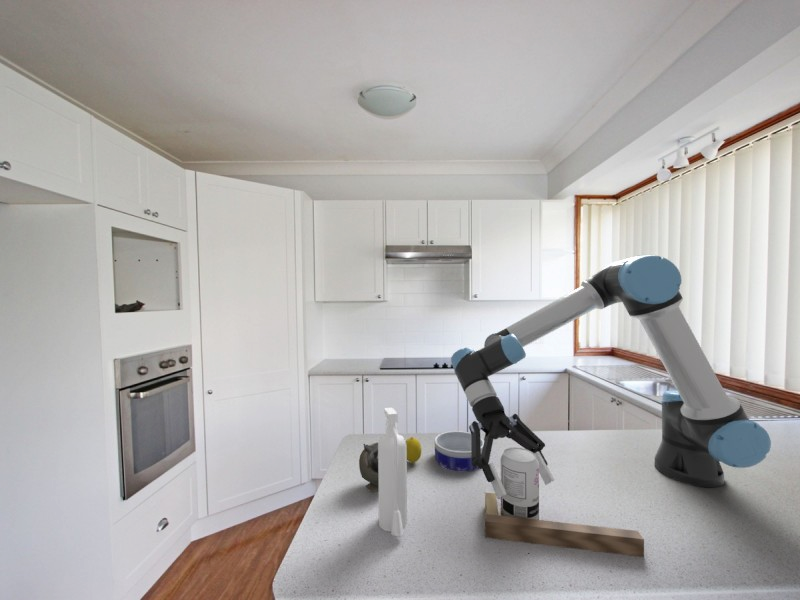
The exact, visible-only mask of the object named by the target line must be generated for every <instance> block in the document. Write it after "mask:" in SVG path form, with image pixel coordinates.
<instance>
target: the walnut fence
mask: <svg viewBox="0 0 800 600" xmlns="http://www.w3.org/2000/svg"><path fill="white" fill-rule="evenodd" d="M484 496H485V497H484V505H485V506H484V508H485V513H484V538H486V539H495V540H502V541H504V540H505V541H509V542H510V541H511V542H519V543H527V544H536V545H543V546H550V547H551V546H552V547H559V548H565V549H566V548H567V549H569V548H570V549H574V550H584V551H593V552H599V553H608V554H614V555H615V554H617V555H623V556H631V557H632V556H634V557H639V558H640V557H641V558H645V539H644V537H643V536H642V535H641V533H640V532H639V531H638V530H632V529H625V528H615V527H606V526H597V525H588V524H580V523H579V524H578V523H569V522H561V521H551V520H544V519H543V520H541V519H539V520H535V519H526V518H517V517H508V516H501V515H500V514H499V507H498V500H497V496H496V493H495V492H486V491H485V492H484Z"/></svg>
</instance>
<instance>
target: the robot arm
mask: <svg viewBox="0 0 800 600" xmlns="http://www.w3.org/2000/svg"><path fill="white" fill-rule="evenodd" d="M681 285H682V275H681V272H680V270H679V269H678V267H677V266H676V264H675V263H674V262H672V261H671V260H669V259H668V258H665V257H664V256H659V255H654V254H649V255H648V254H642V255H637V256H633V257H630V258H629V257H628V258H625V259H621V260H617V261H615V262H612V263H610V264H609V265H607V266H606V267H604V268H602V269H601V270H599V271H598V272H596V273H594V274H592V275H591V276H590V277H588V278H587V279H584V280H583V281H582V282H581V284H580V286H579V287H578V288H576V289H574V290H572V291H570V292H569V293H567V294H565V295H563V296H562V297H559V298H558V299H556V300H554V301H552V302H550V303H548V304H547V305H545V306H543V307H541V308H540V309H538V310H536V311H534V312H533V313H530V314H528V315H527V316H525V317H523V318H521V319H520V320H518V321H516V322H514V323H512V324H511V325H509V326H507V327H506V328H504V329H502V330H500V331H498V332H496V333H495V332H494V333H491V334H489V335H488V336H487V337H486V338H485V341H484V345H483V346H484V347H482V348H480V349H478V350H474V348H472V347H464V348H460V349H458V350H457V351H455V352H454V353H452V355H451V359H450V362H451V365H452V369H453V370H454V373H455V376H456V377H457V379H458V382H459V384H460V386H461V388H462V390H463V392H464V395H465V396H466V397H465V398H466V399H467V401H468V404H469V406H470V407H472V408H471V411H472V412H473V415H474V417H475V420H474V421H473V422H472V423H470V425H469V426H468V428H469V430H470V431H469V433H471V464H472V466H474V467H475V466H478V468H479V469H480V470H482V472H483V475H484V477H485V479H486V481H487V482H488V483H490V484H491V486H492V488H493V492H494V493H496V499H498V500H501V498H502V497H503V496H505V495H506V492H505V489H504V487H503V485H502V483H501V477H500V476H499V473H498V472H497V469H496V468H495V465H494V462H490V457H491V453H492V447H493V443H494V440H497V439H503V438H507V439H511V440H512V441H514V442H515V443H516V444H518V445H519V446H521V448H523V449H527V450H529V451H531V452H533V453H534V454H535V455H536V459H537V460H538V462H539V476H540V477H541V479H542V481H543V483H544V485H545V486H547V485H548V484H551V483H552V482H554V481H555V478H554V476H553V474H552V473H551V471H550V469H549V467H548V462H547V459H546V458H545V455H544V454H543V453H542V451H543V449H544V447H546V443H544V441H542V440H541V438H540V437H538V435H536V434H535V433H534V432H533V431H532V430H531V429H530V428H529V427H528V426H527V425H526V424H525V423H524V422H523V421H522V420H521V418H520V416H519V415H518V414H517V413H513V414H512V415H511V416H509V417H508V416H507V415H506V413H505V408H504V405H503V404H502V402H501V400H500V398H499V397H498V394H497V392H496V390H495V388H494V386H493V384H492V382H491V380H490V379H489V377H490V376H493V375H494V374H497V373H498V372H501V371H503V370H505V369H508V368H509V367H511V366H512V365H516V364H518V362H520V361H523V359H525V358H526V356H527V353H526V351H525V349H524V347H526V346H528V345H530V344H532V343H534V342H536V341H537V340H540V339H541V338H543V337H545V336H547V335H549V334H551V333H553V332H555V331H556V330H558V329H560V328H561V327H564V326H566V325H568V324H569V323H571V322H574V321H575V320H577V319H578V318H580V317H582V316H585V315H586V314H588V313H590V312H592V311H594V310H595V309H597V310H603V309H606V308H607V307H609V306H611V305H612V306H613V305H614V304H618V303H619V304H620V303H622V304H623V306H624V308H625V309H626V312H627V313H628V314H629V315H628V316H629V317H632V318H634V319H637V320H639V322H640V323H641V325H642V326H643V329H644V332H646V334H647V336H648V338H649V340H650V342H651V343H652V346H653V348H654V350H655V352H656V353H657V355H658V357H659V359H660V361H661V363H662V364H663V367H664V368H665V370H666V373H667V374H668V375H669V378H670V380H671V382H672V383H673V385H674V387H675V388H676V390H667V391H664V392H663V393H662V398H661V403H660V404H661V442H660V443H659V447H658V449H657V450H656V453H655V456H654V467H655V468H656V469H657V471H659V472H660V473H661V474H663V475H664V476H666V477H668V478H671V479H674V480H676V481H679V482H681V483H684V484H688V485H693V486H696V487H697V486H698V487H704V488H718V487H721V486H723V485H724V484H725V474H724V473H725V472H724V470H723V468H722V467H723V466H722V465H721V463H723V464H725V465H726V466H729V467H733V468H735V469H736V468H739V469H744V468H751V467H753V466H754V467H755V466H756V465H759V464H760V463H762V462H763V461H764V460H765V459H766V458H767V454H769V453H770V451H771V448H772V447H771V446H772V440H771V437H770V435H769V433H768V431H767V430H766V429H765V427H762V425H760V424H759V423H758V422H756V421H753V420H751V419H749V416H748V415H747V413H746V412H745V409H744V408H743V405H742V404H741V403H740V401H739V400H738V399H737V398H735V397H733V396H730V395H728V394H727V393H726V391H725V390H724V388H723V385H722V384H721V382H720V381H719V379H718V377H717V375H716V373H715V371H714V369H713V368H712V366H711V364H710V361H709V360H708V358H707V356H706V355H705V353H704V350H703V349H702V347H701V345H700V343H699V341H698V339H697V337H696V336H695V334H694V333H693V331H692V329H691V327H690V325H689V323H688V321H687V319H686V318H685V316H684V313H683V312H682V310H681V309H680V305H681V303H682V301H683V296H682V294H681V292H680V286H681ZM481 431H483V432H484V437H483V441H484V445H483V449H482V454H481V444H480V438H481ZM489 462H490V463H489ZM479 469H478V470H479Z"/></svg>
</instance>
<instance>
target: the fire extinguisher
mask: <svg viewBox="0 0 800 600" xmlns="http://www.w3.org/2000/svg"><path fill="white" fill-rule="evenodd" d="M383 409H384V415H385V418H386V421H385V434H384V435H382V436H380V438H379V440H378V477H379V493H378V524H379V527H380V528H381V529H382V530H383V531H385V532H390V533H391V535H392V536H396V537H401V536H402V535H403V534H404V532H405V531H404V529H405V528H406V526H407V525H408V486H407V485H408V473H407V471H408V470H407V469H408V468H407V466H408V464H407V463H408V462H407V445H406V442H405V441H406V440H405V438H404V436H403V435H401V434H399V433H398V426H397V423H399V419H398V413H397V411H396V410H395V409H394V407H384V408H383Z"/></svg>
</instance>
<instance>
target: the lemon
mask: <svg viewBox="0 0 800 600" xmlns="http://www.w3.org/2000/svg"><path fill="white" fill-rule="evenodd" d="M405 442H406V445H407V461H408V462H410V464H414V463H415V462H417V461H418V460H420V458H421V455H422V445H421V443H420V441H419V440H418V439H417V438H415V437H414V436H411V437H409V438H408V439H406V440H405Z"/></svg>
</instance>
